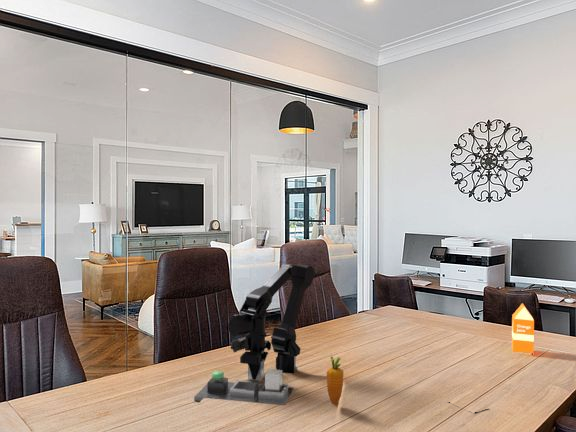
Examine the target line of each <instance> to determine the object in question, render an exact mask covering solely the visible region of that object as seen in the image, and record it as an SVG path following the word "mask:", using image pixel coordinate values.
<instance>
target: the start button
mask: <svg viewBox="0 0 576 432" xmlns="http://www.w3.org/2000/svg"><path fill="white" fill-rule="evenodd" d="M211 374H212V375H211V378H212V379H214V380H220V379H223V378H225V373H224V372H223V371H221V370H217V371H213V372H212V373H211Z"/></svg>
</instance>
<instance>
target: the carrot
mask: <svg viewBox="0 0 576 432" xmlns="http://www.w3.org/2000/svg"><path fill="white" fill-rule="evenodd" d="M330 360H331V366H332V367H329V368H328V369H327V371H326V387H327V395H328V397H329V400H330V402H331V404H334V405H337V404H338V403H339V401H340V398H341V396H342V392H343V386H344V370H343V369H342V368H340V366H342V364H341V363H339V362H340V361H341V357H339V356H337V357H336V360H335V358H334V357H333V355H332V356H331V355H330Z"/></svg>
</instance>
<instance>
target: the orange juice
mask: <svg viewBox="0 0 576 432" xmlns="http://www.w3.org/2000/svg"><path fill="white" fill-rule="evenodd" d="M511 316H512V317H511V350H512V349H513V351H512V353H513V352H523V353H533V354H534V341H535V320H534V318H533V316H532V315H531V313H530V312H529V310H528V309H527V308H526V306H525V305H524V303H523V302H522V303H520V306H519V307H518V308H517V309H516V310H515V312H513V314H511Z"/></svg>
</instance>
